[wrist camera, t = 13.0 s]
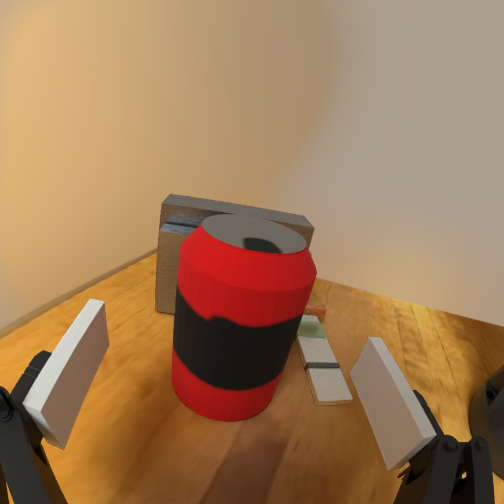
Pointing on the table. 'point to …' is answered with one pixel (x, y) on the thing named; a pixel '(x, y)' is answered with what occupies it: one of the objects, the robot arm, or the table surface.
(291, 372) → the table surface
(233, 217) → the soda can
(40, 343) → the table surface
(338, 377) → the gauge bed
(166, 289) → the grey block
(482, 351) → the table surface
